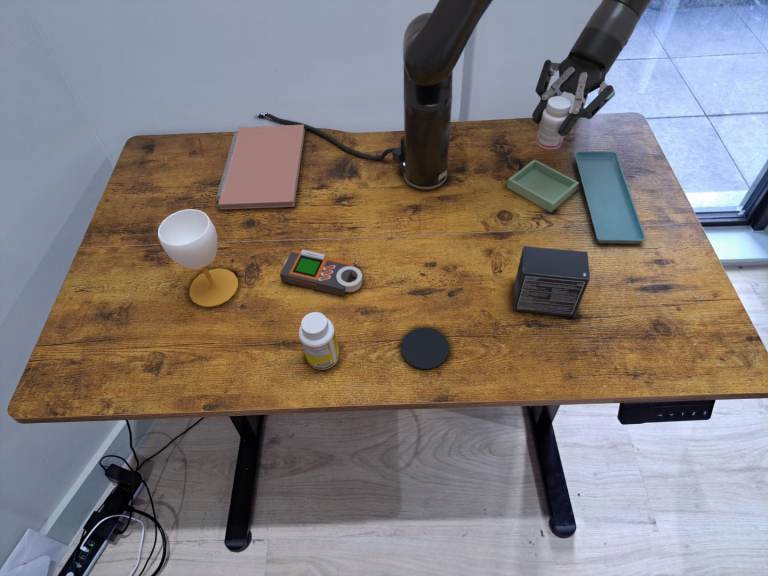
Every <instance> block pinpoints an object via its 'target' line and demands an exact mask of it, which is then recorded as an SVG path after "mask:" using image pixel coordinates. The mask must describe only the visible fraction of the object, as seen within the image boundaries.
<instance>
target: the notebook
mask: <svg viewBox="0 0 768 576" xmlns="http://www.w3.org/2000/svg"><path fill="white" fill-rule="evenodd" d="M305 132H306V128H304V125H290V124H286V125H264V126H263V125H261V126H260V125H259V126H239V127H238V130H237V132H235V133H233V137H232V139H231V144H230V146H229V147H230V148H229V151H228V155H227V158H226V161H225V165H224V169H223V172H222V175H221V179H220V182H219V187H218V189H217V194H216V196H215V197H216V198H215V199H216V200H217V202H218V204H217V205H218V206H219V210H222V211H223V210H244V209H245V210H247V209H270V208H271V209H273V208H294V207H295V206H296V205H295V204H296V198H297V190H298V184H299V177H300V176H299V175H300V168H301V162H302V155H303V148H304V140H305V134H306V133H305Z"/></svg>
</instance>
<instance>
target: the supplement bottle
mask: <svg viewBox="0 0 768 576" xmlns="http://www.w3.org/2000/svg"><path fill="white" fill-rule="evenodd" d="M298 338H299V341H300V343H301V347H302V349H303V352H304V356H305V359H306V361H307V363H308V365H309V366H310V367H312V368H313V369H316V370H318V371H319V370H321V371H322V370H328V369H330V368H333V366H334V365H336V364H337V362H338V361H339V358H340V348H339V343H338V338H337V335H336V330H335V327H334V323H333V322H332V321H331V320H330V319H329V318H328V317H326V316H325V314H323V313H322V312H318V311H312V312H309V313H307V314H305V315H304V316H303V318H302V319H301V322H300V326H299V328H298Z"/></svg>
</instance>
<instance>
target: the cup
mask: <svg viewBox="0 0 768 576" xmlns="http://www.w3.org/2000/svg"><path fill="white" fill-rule="evenodd" d="M157 237H158V240H159V243H160V245H161V247H162V249H163V251H164V253H166V254H167V256H168V257H169V258H170V259H172V261H173V262H175V263H176V264H178V265H179V266H181V267H183V268H185V269H187V270H198V269H201V270H202V273H200V274H199V275H197V277H195V278H194V279H193V281H192V282H191V285H190V286H189V297H190V299H191V301H192V302H193V303H194V304H196V305H198V306H199V307H205V308H211V307H217V306H218V307H219V306H220V305H223V304H224V303H226V302H229V300H230V299H231V298H232V297H234V295H236V292H237V290H238V288H239V279H238V278H237V276H236V274H235V273H234V272H233V271H231V270H229V269H227V268H220V267H219V268H212V269H208V267H207V266H209V265H210V264H211V263H212V262H213V261H214V260H215V258H216V257H217V253H218V248H219V247H218V246H219V245H218V243H219V241H218V233H217V230H216V227H215V225H214V223H213V222H212V221H211V219H210V218H209V216H208V214H207V213H206V212H204V211H201V210H199V209H194V208H193V209H192V208H188V209H181V210H178V211H176V212H174V213H172V214H169V215H168V216H167V217H166V218H164V219H163V220H162V222H161V223H160V225H159V226H158V230H157Z"/></svg>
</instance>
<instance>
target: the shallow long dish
mask: <svg viewBox="0 0 768 576" xmlns="http://www.w3.org/2000/svg"><path fill="white" fill-rule="evenodd" d="M573 154H574V159H575V162H576V166H577V169H578V173H579V178H580V182H581V185H582V188H583V194H584V196H585V200H586V204H587V207H588V212H589V215H590V218H591V222H592V227H593V229H594V233H595V238H596V242H597V243H599V244H618V245H619V244H621V245H624V244H625V245H636V244H640V243H644V242H645V241H646V240H647V237H646V234H645V231H644V229H643V226H642V223H641V219H640V217H639V214H638V211H637V209H636V204H635V202H634V200H633V196H632V193H631V189H630V188H629V184H628V181H627V179H626V176H625V173H624V170H623V167H622V165H621V160H620V157H619V155H618V153H617V151H614V150H609V151H608V150H607V151H606V150H605V151H604V150H602V151H600V150H599V151H597V150H596V151H594V150H592V151H589V150H587V151H585V150H584V151H579V150H578V151H577V150H576V151H574V152H573Z"/></svg>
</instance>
